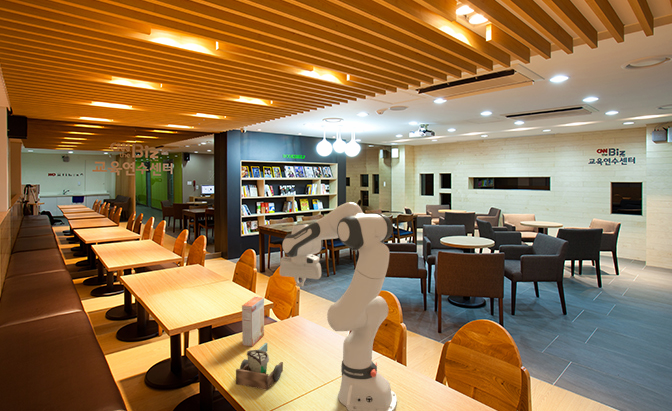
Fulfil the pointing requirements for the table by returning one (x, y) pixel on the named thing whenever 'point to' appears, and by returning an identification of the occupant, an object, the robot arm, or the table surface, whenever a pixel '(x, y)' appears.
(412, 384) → the table surface
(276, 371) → the cart bed
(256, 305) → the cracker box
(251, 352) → the food container
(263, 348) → the pale teal plank
